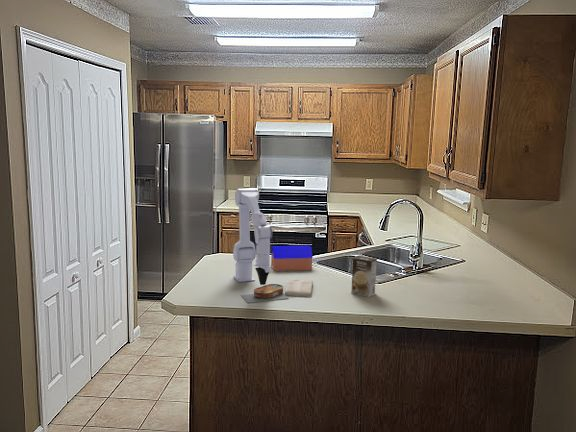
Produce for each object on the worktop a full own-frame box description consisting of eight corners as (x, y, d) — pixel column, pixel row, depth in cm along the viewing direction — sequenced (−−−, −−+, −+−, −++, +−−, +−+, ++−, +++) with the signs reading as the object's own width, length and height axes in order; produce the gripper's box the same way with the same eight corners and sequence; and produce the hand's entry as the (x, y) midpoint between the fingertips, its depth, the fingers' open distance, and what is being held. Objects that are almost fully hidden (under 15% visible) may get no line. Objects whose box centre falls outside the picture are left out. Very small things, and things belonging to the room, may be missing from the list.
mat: (241, 295, 220) (241, 295, 220) (280, 291, 226) (280, 291, 226) (247, 303, 211) (247, 302, 211) (288, 298, 217) (288, 298, 217)
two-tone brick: (270, 265, 270) (270, 243, 268) (307, 264, 274) (308, 242, 272) (273, 271, 259) (274, 249, 257) (312, 270, 262) (313, 248, 260)
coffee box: (350, 293, 226) (351, 257, 223) (356, 289, 231) (358, 255, 228) (369, 297, 221) (371, 261, 218) (375, 293, 226) (377, 258, 223)
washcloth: (313, 285, 238) (313, 279, 237) (311, 298, 220) (312, 291, 220) (287, 284, 239) (287, 278, 238) (284, 296, 221) (284, 290, 220)
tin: (272, 282, 230) (287, 285, 224) (272, 289, 230) (287, 292, 225) (249, 290, 218) (264, 293, 213) (249, 297, 218) (264, 300, 213)
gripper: (249, 250, 223) (248, 280, 226) (259, 258, 210) (258, 290, 212) (264, 249, 226) (264, 278, 228) (275, 257, 212) (274, 288, 215)
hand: (262, 284), depth 220 cm, fingers closed
